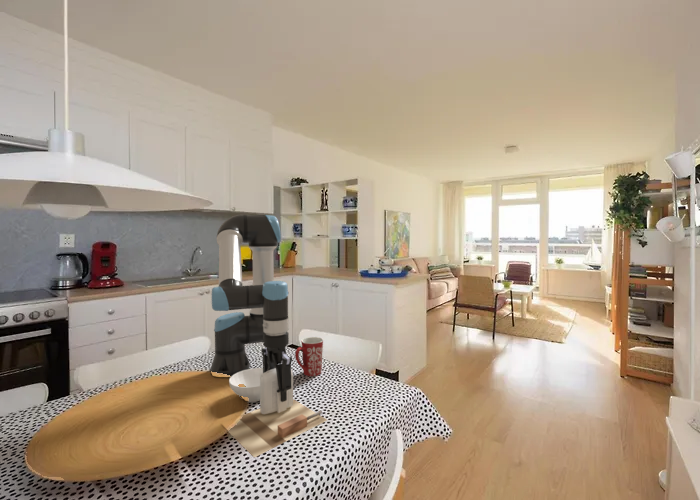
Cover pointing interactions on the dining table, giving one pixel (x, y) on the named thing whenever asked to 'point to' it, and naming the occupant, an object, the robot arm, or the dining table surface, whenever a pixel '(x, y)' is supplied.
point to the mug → (311, 355)
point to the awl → (294, 424)
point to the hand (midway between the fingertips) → (277, 407)
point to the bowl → (247, 383)
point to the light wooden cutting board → (270, 428)
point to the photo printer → (272, 392)
